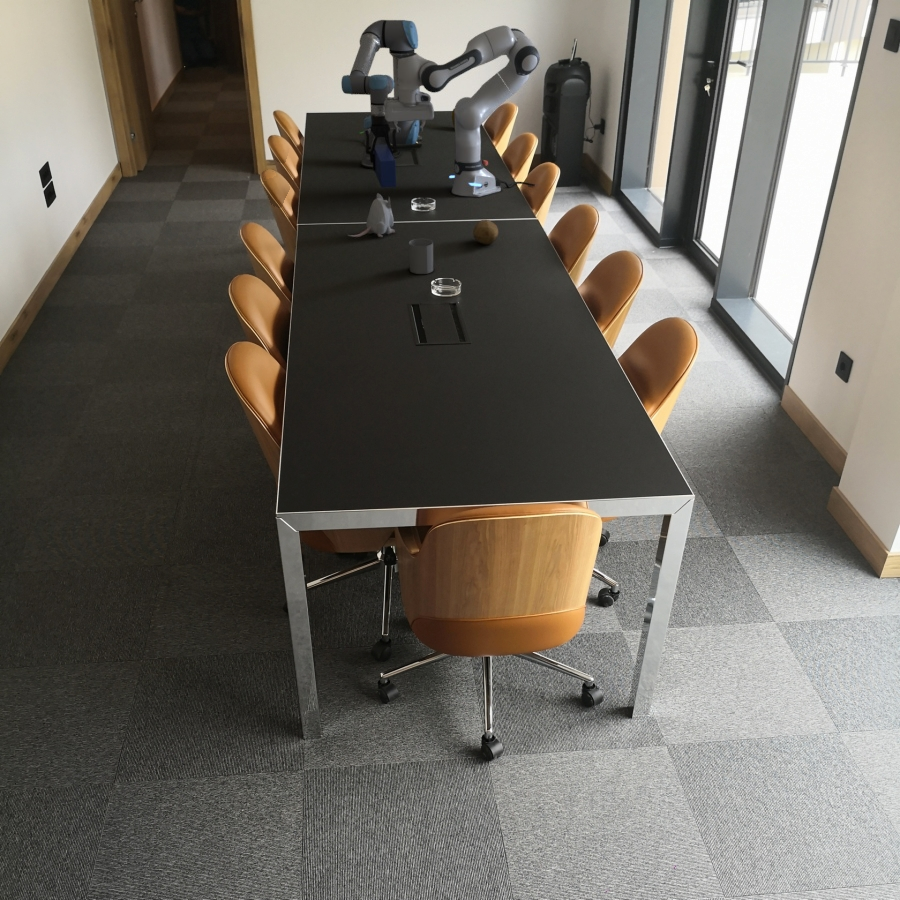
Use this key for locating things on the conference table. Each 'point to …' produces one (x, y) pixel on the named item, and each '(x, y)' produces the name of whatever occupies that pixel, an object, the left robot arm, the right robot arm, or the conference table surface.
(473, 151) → the right robot arm
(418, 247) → the cup
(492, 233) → the potato
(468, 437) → the conference table surface
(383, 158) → the box
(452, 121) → the apple
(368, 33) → the left robot arm
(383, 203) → the toy
